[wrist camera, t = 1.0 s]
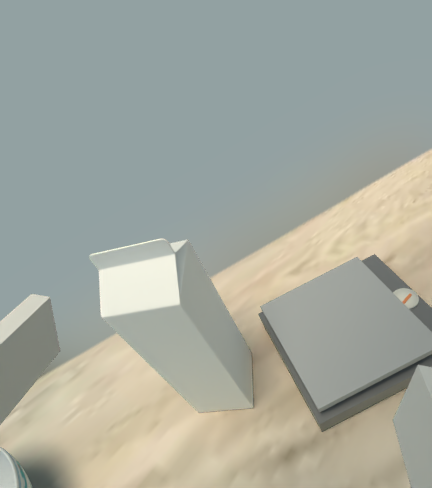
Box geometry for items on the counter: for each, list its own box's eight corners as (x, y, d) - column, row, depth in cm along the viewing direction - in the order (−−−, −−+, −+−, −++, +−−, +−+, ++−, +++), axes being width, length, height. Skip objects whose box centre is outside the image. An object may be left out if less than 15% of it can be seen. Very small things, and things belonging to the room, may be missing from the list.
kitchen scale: (375, 265, 42) (374, 243, 39) (467, 355, 32) (474, 335, 30) (262, 323, 42) (254, 305, 39) (321, 431, 32) (316, 417, 29)
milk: (202, 359, 41) (97, 225, 26) (253, 353, 39) (171, 206, 25) (198, 414, 37) (71, 290, 22) (255, 410, 35) (158, 273, 21)
